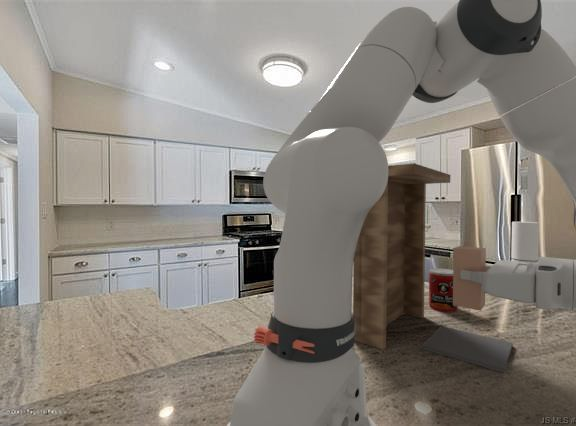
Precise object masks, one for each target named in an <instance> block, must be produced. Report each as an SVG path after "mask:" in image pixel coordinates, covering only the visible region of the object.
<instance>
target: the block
mask: <svg viewBox="0 0 576 426" xmlns="http://www.w3.org/2000/svg"><path fill="white" fill-rule="evenodd" d="M486 255H487V248H485V247H476V246H475V247H473V246H463V245H462V246H461V245H459V246H456V247H454V248H453V259H452V260H453V262H452V263H453V265H452V266H453V267H452V270H453V305H454V306H458V308H459V307H461V308H465V309H469V310H470V309H471V310H475V311H482V310H483V309H484V307H485V306H486V293H484V292H483V291H482V284H481V283H477V282H474V281H471V280H466V279H462V278H461V277H460V272H461V270H463V269H466V270H472V271H478V272H481V271H482V272H486V265H487V264H486V263H487V262H486V261H487V260H486V259H487V256H486Z"/></svg>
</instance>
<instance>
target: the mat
mask: <svg viewBox="0 0 576 426" xmlns="http://www.w3.org/2000/svg"><path fill="white" fill-rule="evenodd" d="M513 344H514V343H513V342H510V341H507V340H502V339H498V338H493V337H490V336H485V335H481V334H476V333H473V332H468V331H465V330H460V329H456V328H452V327H448V326H443V325H441V326H440V327H439V328H438V329H437V330H436V331H435V332H434V333H433V334H432V335H431V336H430V337H429V338H428V339H426V341H425V342H424V343H422V349H423V350H424V351H429V352H432V353H436V354H439V355H442V356H446V357H449V358H453V359H457V360H460V361H462V362H466V363H469V364H472V365H475V366H479V367H483V368H487V369H489V370H493V371H497V372H499V373H503V374H505V371H506V367H507V365H508V362H509V359H510V356H511V353H512V349H513V346H514V345H513Z"/></svg>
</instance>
